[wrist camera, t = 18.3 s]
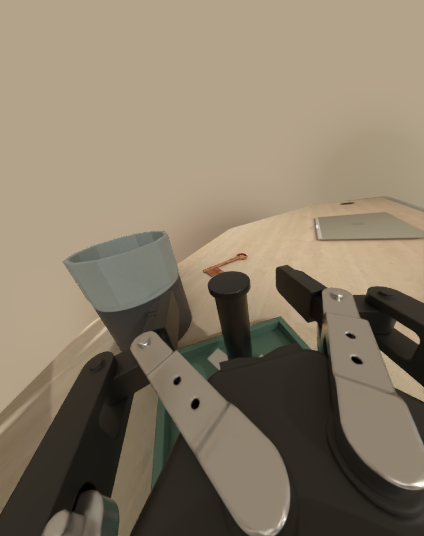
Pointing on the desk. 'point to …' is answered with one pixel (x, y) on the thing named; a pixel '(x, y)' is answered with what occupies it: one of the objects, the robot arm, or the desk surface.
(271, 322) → the tray
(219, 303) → the blade
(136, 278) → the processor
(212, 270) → the key
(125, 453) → the desk surface
